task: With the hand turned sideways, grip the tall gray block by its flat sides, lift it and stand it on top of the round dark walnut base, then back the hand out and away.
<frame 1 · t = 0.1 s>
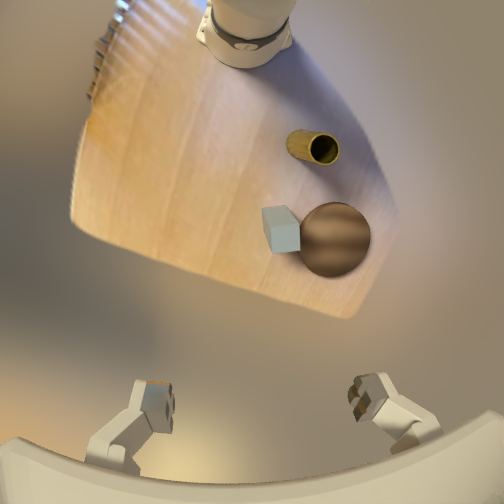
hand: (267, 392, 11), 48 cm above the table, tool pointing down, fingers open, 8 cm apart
gray block: (274, 217, 58), on the table
walnut base: (332, 238, 61), on the table
vase: (300, 144, 52), on the table
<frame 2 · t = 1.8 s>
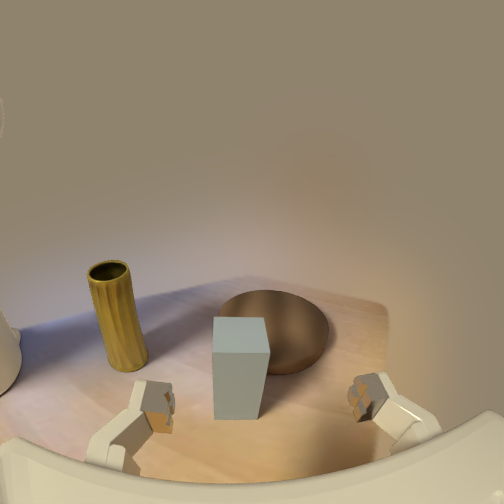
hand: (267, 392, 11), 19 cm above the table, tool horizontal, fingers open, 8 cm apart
gray block: (234, 403, 30), on the table
walnut base: (271, 334, 42), on the table
vase: (128, 358, 34), on the table
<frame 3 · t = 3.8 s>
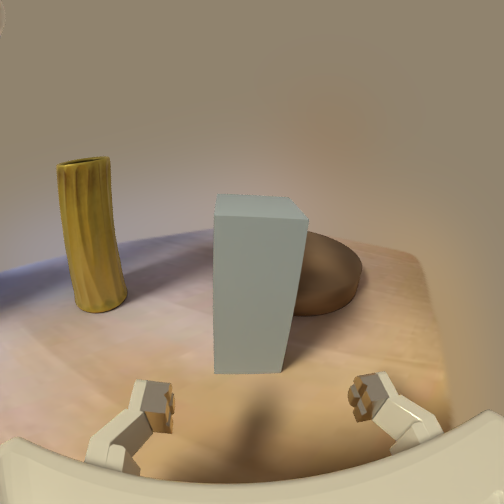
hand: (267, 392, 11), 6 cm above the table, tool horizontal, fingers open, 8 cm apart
gray block: (245, 351, 21), on the table
walnut base: (289, 273, 34), on the table
vase: (101, 298, 26), on the table
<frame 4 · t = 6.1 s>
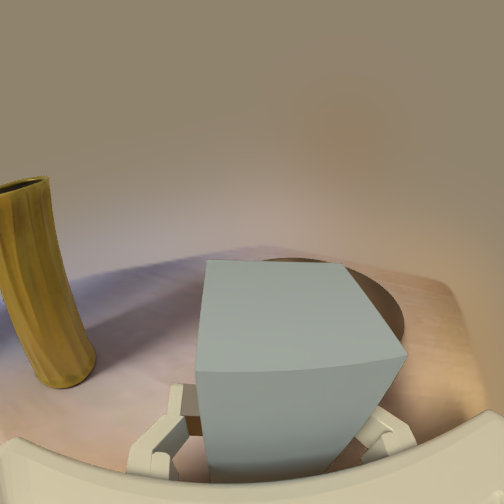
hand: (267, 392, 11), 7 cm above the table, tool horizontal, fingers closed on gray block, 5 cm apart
gray block: (256, 461, 13), on the table, touching gripper
walnut base: (309, 325, 25), on the table
vase: (65, 363, 17), on the table
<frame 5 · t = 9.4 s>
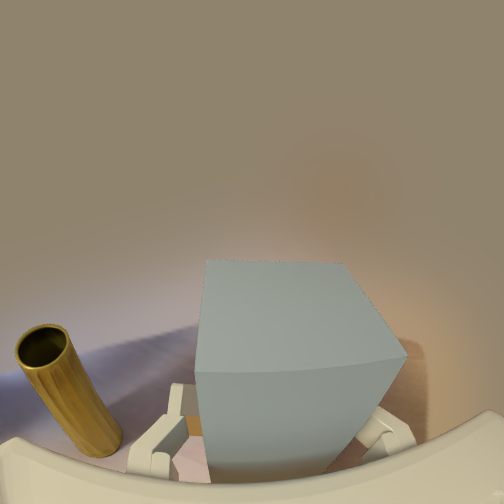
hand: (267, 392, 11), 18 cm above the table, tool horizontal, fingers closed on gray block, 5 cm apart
gray block: (255, 461, 12), point 11 cm above the table, touching gripper
vase: (97, 436, 21), on the table
when the fingers open (11 cm above the table, at t = 12.9 s): gray block drops 1 cm, resting on walnut base.
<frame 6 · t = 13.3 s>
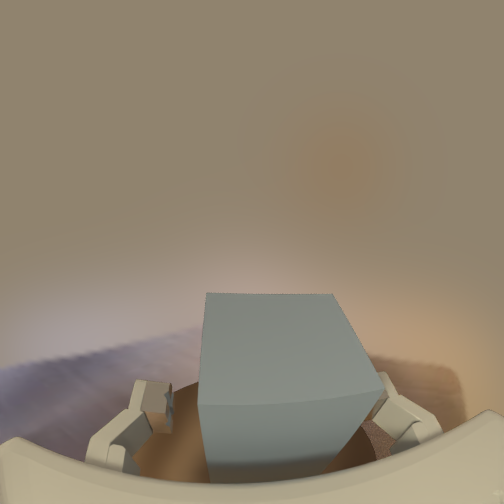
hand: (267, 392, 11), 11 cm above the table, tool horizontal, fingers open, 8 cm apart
gray block: (253, 468, 13), point 3 cm above the table, touching walnut base
walnut base: (250, 479, 14), on the table
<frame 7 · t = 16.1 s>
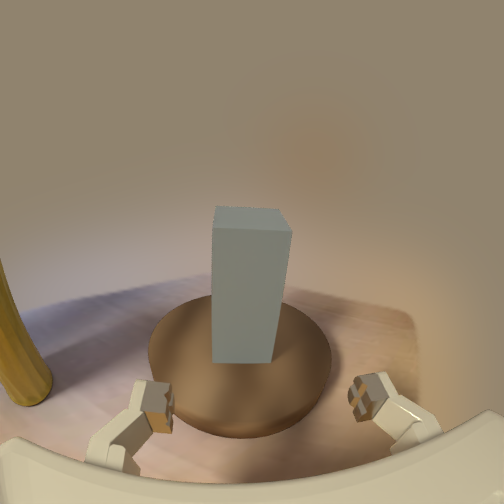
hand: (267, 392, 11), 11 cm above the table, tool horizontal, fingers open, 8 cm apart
gray block: (240, 343, 24), point 3 cm above the table, touching walnut base
walnut base: (239, 364, 26), on the table
vase: (30, 385, 18), on the table
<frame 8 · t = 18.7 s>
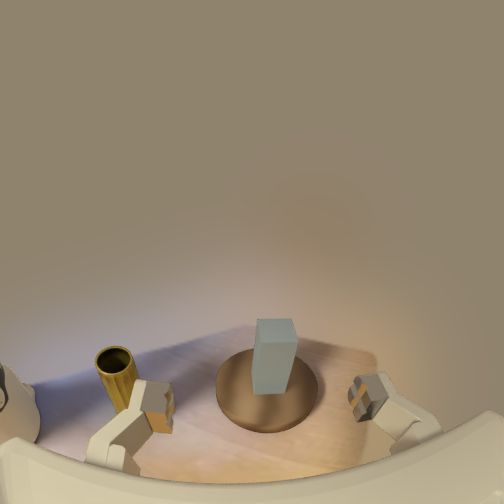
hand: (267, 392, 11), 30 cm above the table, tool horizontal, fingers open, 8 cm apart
gray block: (267, 382, 42), point 3 cm above the table, touching walnut base
walnut base: (265, 392, 43), on the table
vase: (137, 417, 35), on the table
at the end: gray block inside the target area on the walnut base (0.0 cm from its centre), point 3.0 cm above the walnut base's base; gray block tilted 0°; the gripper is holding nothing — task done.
